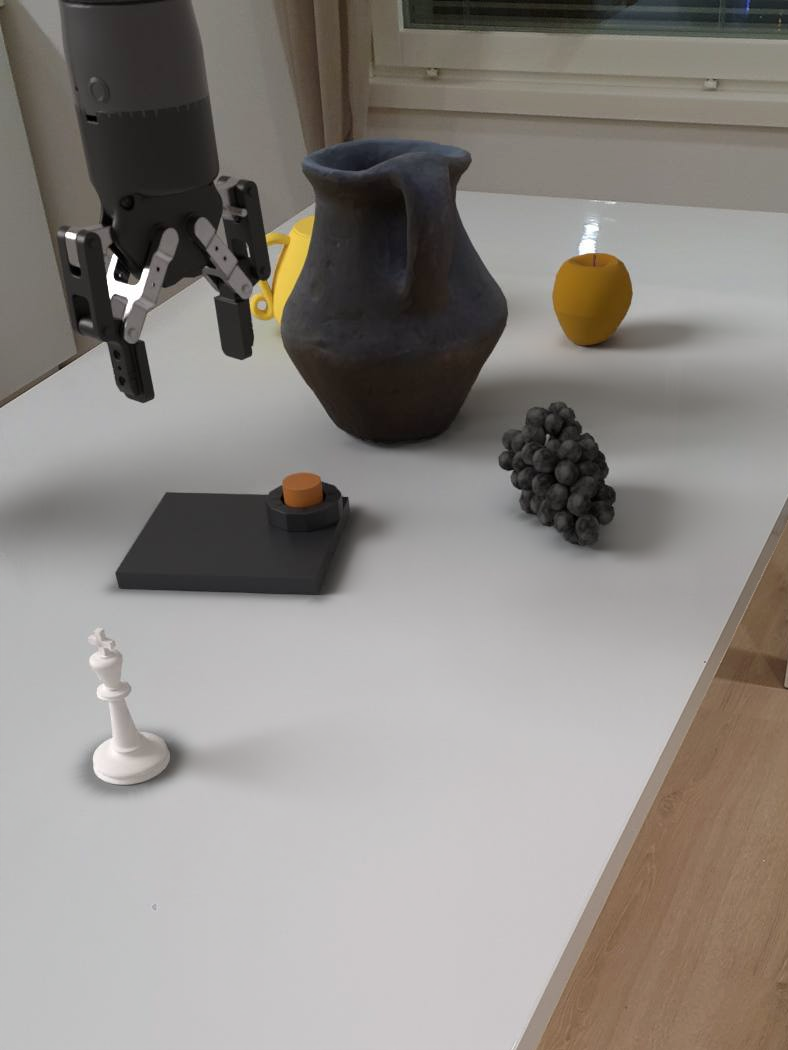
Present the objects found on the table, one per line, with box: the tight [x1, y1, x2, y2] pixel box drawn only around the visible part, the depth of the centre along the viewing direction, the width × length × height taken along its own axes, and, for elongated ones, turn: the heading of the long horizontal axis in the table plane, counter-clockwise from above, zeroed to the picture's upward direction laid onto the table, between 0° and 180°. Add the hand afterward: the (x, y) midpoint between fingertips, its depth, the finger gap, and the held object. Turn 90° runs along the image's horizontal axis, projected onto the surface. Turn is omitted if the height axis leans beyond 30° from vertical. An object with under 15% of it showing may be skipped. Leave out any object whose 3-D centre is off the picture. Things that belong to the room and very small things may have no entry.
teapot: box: [249, 214, 315, 327], centre depth 141 cm, size 20×19×13 cm
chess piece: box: [87, 627, 171, 786], centre depth 81 cm, size 5×5×10 cm
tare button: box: [281, 472, 323, 507], centre depth 105 cm, size 3×3×2 cm
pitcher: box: [280, 137, 509, 444], centre depth 115 cm, size 21×22×25 cm
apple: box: [551, 252, 634, 346], centre depth 136 cm, size 8×8×9 cm
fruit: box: [497, 400, 617, 547], centre depth 105 cm, size 9×8×15 cm
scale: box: [114, 480, 351, 595], centre depth 105 cm, size 16×14×3 cm
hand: (190, 377), depth 83 cm, fingers open, 8 cm apart
